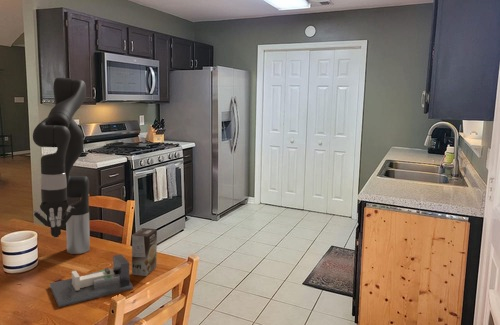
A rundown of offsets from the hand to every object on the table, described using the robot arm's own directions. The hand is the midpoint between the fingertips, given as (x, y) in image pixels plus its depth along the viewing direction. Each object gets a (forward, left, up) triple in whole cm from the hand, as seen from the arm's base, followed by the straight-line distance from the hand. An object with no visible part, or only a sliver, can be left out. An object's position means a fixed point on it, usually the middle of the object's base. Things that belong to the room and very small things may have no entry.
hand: (55, 236), depth 128 cm
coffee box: (-2, +32, -21) cm, 38 cm away
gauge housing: (+2, +11, -20) cm, 23 cm away
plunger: (+2, +11, -19) cm, 22 cm away
